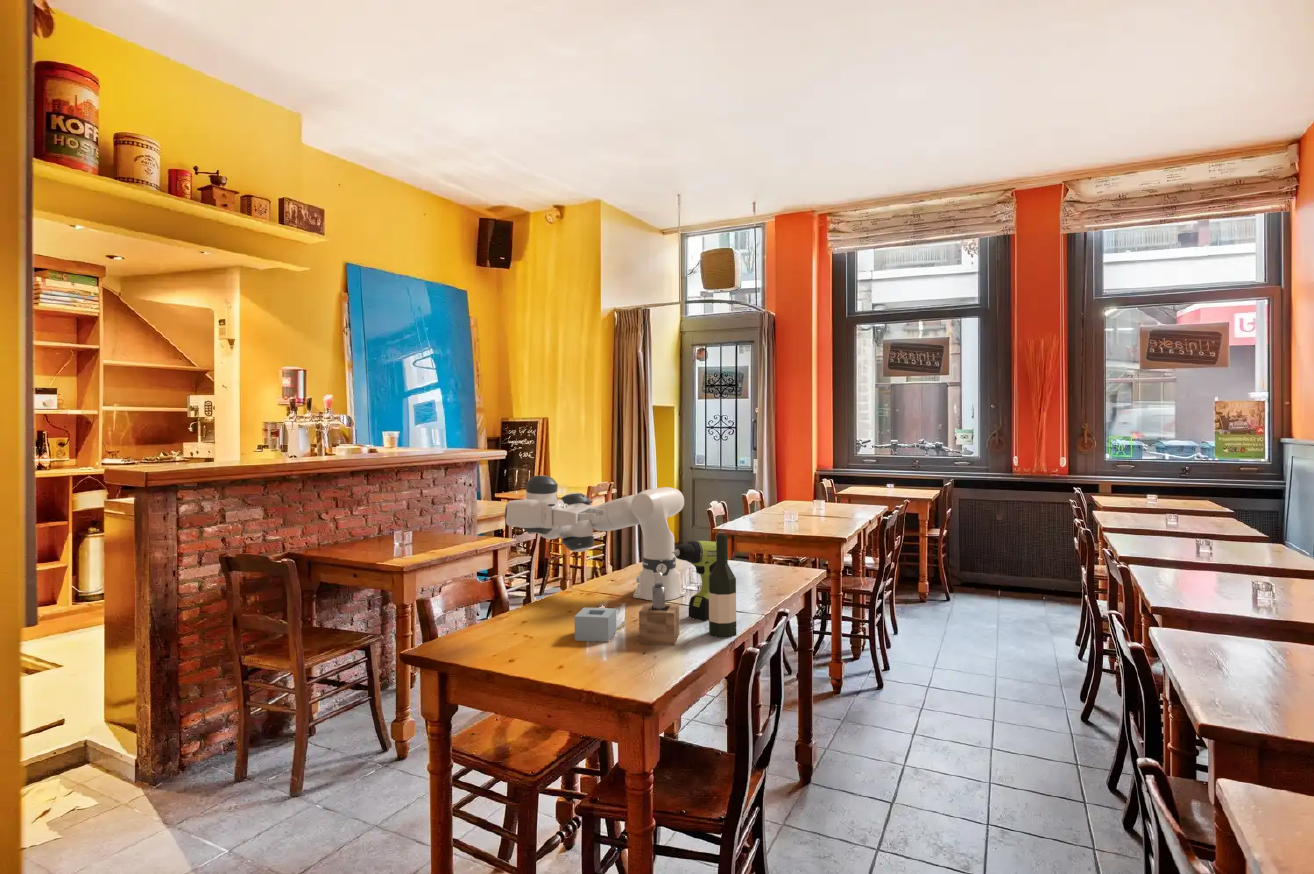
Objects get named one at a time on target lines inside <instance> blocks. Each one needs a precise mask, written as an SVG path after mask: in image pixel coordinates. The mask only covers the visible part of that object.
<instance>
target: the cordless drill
mask: <svg viewBox="0 0 1314 874" xmlns="http://www.w3.org/2000/svg"><path fill="white" fill-rule="evenodd" d="M672 553H674V556H675V557H676V560H681V561H686V562H688V563H690V564H692V565H693V567H695V570H696V571H695V572H696V574H699V576H700V578H701V589H700V590H699V592H697V593H694V594H693V595H692V596H691V597H690V600H689V603H688V618H690V617H691V618H690V619H692V618H694V619H693V620H696V619H697V621H700V620H701V621H700V622H707V620H708V621H709V575H710V573H711V571H712V570H713V568H714V566H715V565H716V541H709V540H691V541H690V540H689V541H687V542H686V543H682V544H678V545H676V547H674V551H673V552H672Z"/></svg>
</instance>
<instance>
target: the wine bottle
mask: <svg viewBox="0 0 1314 874" xmlns="http://www.w3.org/2000/svg"><path fill="white" fill-rule="evenodd" d="M715 538H716V539H715V542H716V565H715V566H714V568H713V570H712V571H711V573H710V575H709V620H708V633H709V636H710V637H714V636H717V637H716V638H718V637H730V638H733V637H734V636H737V578H736V576H735V574H734V572H733V570H732V569H731V567H730V565H729V564H728V562H729V561H728V555H729V554H728V534H727V531H717V534H716V536H715ZM732 636H733V637H732Z"/></svg>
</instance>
